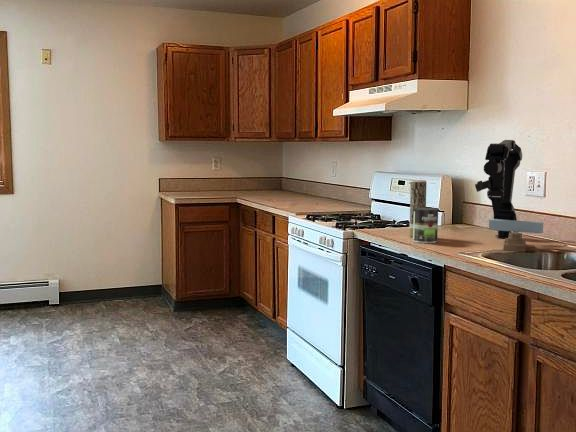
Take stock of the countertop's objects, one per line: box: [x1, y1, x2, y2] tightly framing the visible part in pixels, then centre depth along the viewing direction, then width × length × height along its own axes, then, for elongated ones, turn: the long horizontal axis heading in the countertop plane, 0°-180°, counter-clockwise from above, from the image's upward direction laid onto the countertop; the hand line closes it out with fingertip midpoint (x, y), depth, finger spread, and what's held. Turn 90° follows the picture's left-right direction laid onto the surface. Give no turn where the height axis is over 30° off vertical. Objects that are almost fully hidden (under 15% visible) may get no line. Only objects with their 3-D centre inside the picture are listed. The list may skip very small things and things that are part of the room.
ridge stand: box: [503, 231, 527, 252], centre depth 252 cm, size 18×8×6 cm, turn 160°
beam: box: [488, 218, 544, 234], centre depth 252 cm, size 4×20×4 cm, turn 59°
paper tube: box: [409, 179, 427, 238], centre depth 277 cm, size 7×7×25 cm
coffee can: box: [412, 206, 439, 244], centre depth 266 cm, size 10×10×14 cm
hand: (495, 212), depth 261 cm, fingers open, 9 cm apart
